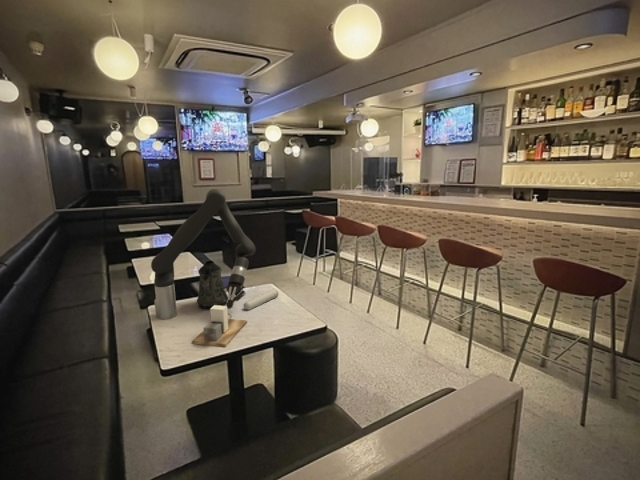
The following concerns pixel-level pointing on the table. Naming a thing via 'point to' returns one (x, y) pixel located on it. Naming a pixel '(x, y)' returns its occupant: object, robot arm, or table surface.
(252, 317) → the table surface
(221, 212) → the robot arm
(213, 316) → the sleeve
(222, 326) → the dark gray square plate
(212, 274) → the beer stein
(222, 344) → the pipe stand
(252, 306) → the tube
